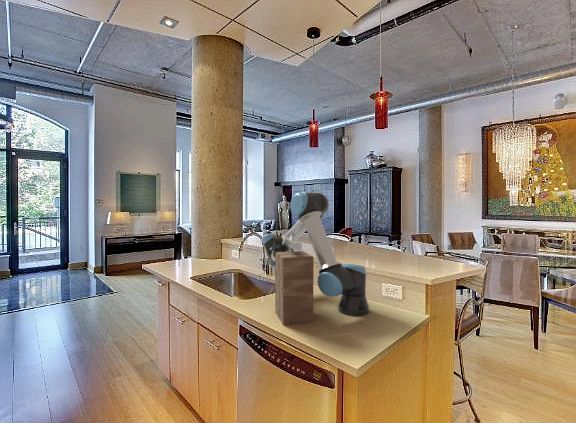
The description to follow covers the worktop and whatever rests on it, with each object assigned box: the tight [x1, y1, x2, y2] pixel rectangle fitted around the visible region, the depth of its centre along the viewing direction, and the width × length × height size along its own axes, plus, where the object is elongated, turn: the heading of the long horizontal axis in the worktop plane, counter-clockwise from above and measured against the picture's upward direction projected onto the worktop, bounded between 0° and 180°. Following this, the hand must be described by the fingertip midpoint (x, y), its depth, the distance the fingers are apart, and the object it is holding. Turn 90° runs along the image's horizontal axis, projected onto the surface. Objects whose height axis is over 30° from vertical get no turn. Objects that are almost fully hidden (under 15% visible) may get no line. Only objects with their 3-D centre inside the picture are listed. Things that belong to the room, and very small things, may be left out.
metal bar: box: [280, 236, 303, 251], centre depth 154 cm, size 26×3×3 cm, turn 15°
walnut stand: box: [274, 250, 314, 326], centre depth 150 cm, size 16×14×30 cm
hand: (288, 236), depth 157 cm, fingers closed on metal bar, 3 cm apart
